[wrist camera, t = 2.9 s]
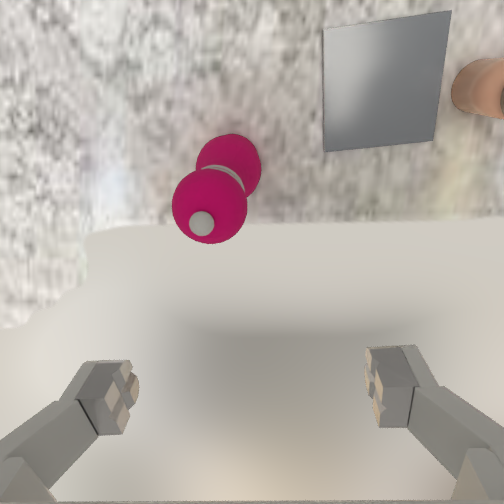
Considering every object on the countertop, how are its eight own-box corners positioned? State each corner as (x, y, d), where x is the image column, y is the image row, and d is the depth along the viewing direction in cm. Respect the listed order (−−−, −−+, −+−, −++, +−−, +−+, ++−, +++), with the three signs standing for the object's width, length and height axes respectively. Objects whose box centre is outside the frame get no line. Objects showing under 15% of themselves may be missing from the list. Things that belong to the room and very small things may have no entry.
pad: (447, 11, 31) (451, 10, 31) (430, 139, 37) (433, 140, 36) (322, 30, 33) (323, 29, 32) (324, 150, 38) (324, 152, 38)
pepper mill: (207, 123, 38) (148, 167, 20) (267, 136, 38) (260, 189, 21) (201, 182, 41) (146, 262, 24) (256, 193, 42) (241, 280, 24)
